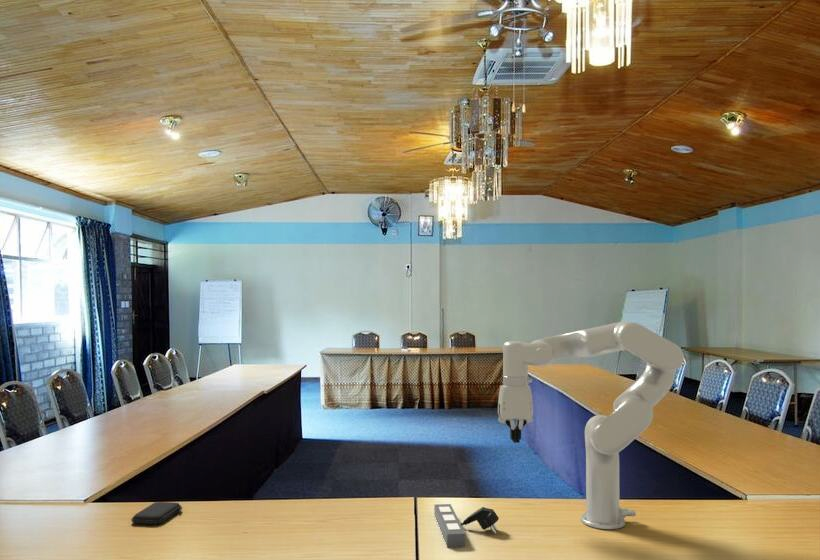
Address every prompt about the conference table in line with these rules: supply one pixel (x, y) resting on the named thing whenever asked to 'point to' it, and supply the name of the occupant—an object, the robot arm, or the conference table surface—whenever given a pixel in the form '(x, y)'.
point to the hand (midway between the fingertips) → (515, 441)
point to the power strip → (449, 525)
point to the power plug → (483, 519)
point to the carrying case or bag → (156, 513)
